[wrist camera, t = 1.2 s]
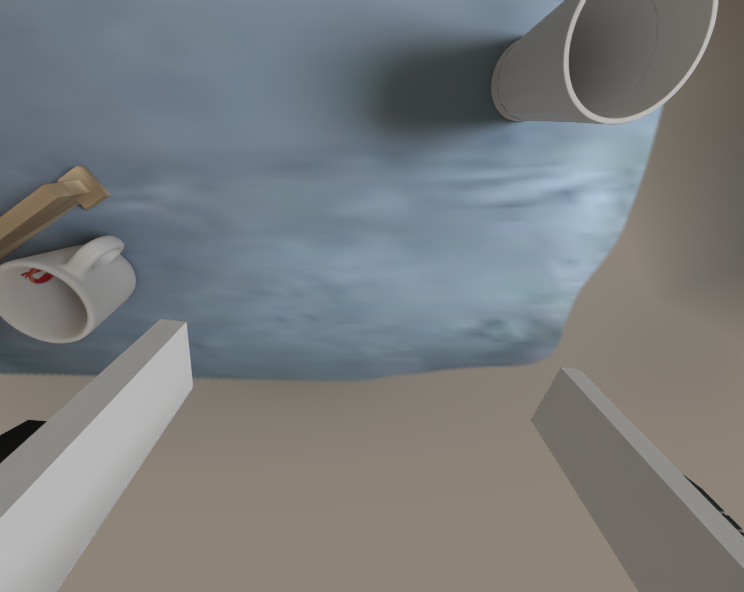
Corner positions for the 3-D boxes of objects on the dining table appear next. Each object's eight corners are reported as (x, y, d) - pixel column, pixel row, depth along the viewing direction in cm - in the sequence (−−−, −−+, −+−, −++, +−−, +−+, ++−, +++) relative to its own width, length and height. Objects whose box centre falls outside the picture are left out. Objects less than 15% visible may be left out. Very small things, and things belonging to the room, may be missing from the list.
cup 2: (496, 147, 29) (576, 149, 19) (469, 54, 26) (549, -8, 15) (579, 104, 28) (717, 80, 17) (563, 1, 25) (721, -109, 14)
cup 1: (102, 198, 30) (22, 215, 23) (176, 254, 33) (126, 285, 25) (53, 270, 33) (-32, 305, 26) (125, 316, 36) (67, 359, 28)
